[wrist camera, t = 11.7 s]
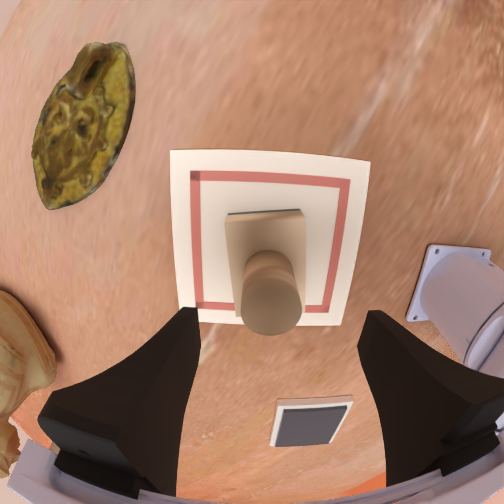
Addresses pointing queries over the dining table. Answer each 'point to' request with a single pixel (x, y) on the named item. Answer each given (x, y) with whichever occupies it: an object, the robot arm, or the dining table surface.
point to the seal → (83, 125)
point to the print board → (261, 199)
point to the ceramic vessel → (19, 370)
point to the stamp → (267, 268)
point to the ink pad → (308, 420)
